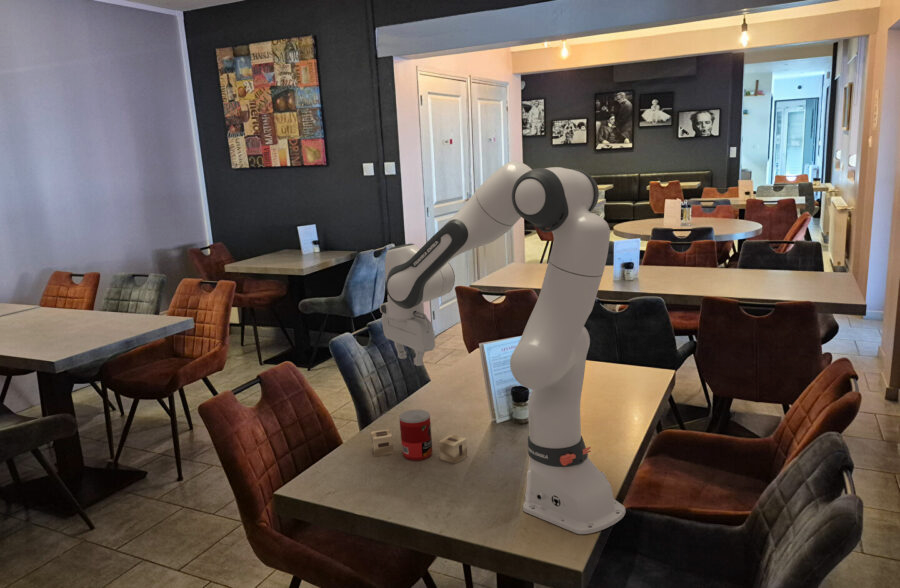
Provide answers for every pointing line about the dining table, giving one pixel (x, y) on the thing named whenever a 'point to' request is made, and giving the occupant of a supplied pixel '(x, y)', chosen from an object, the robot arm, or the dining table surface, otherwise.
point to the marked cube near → (453, 449)
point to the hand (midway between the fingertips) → (410, 361)
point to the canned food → (416, 434)
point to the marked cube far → (382, 442)
